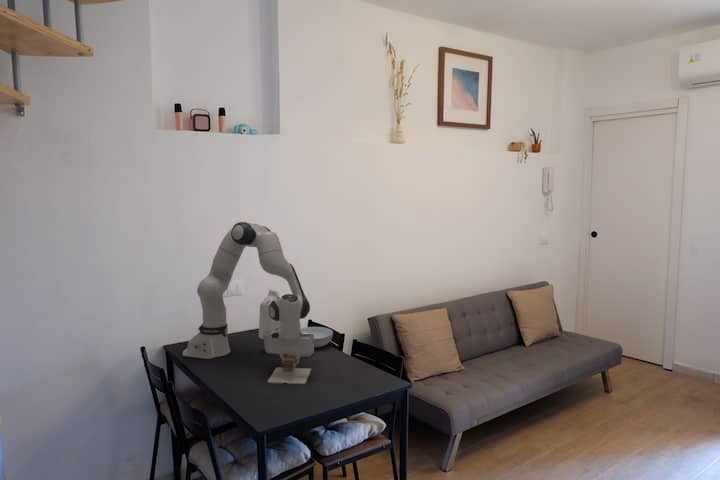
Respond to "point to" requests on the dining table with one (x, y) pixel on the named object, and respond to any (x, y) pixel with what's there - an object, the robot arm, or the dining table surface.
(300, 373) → the mat
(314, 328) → the serving bowl
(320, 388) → the dining table surface
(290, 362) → the wooden block
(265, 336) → the dixie cup
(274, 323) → the milk
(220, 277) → the robot arm
